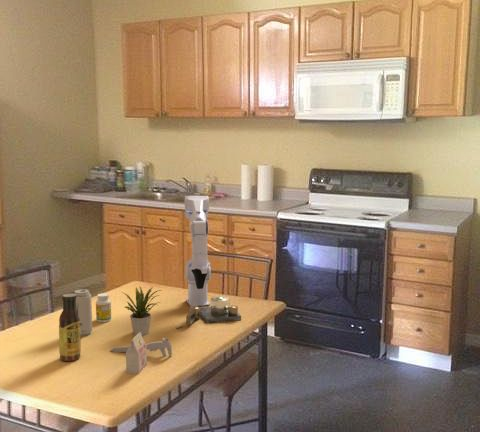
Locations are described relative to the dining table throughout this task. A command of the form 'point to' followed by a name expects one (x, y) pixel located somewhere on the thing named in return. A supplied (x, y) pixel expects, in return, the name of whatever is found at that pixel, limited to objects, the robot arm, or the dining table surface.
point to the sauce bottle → (69, 330)
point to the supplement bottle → (103, 308)
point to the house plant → (141, 312)
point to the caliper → (151, 347)
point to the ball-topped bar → (193, 314)
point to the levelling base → (216, 317)
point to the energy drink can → (84, 311)
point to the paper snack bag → (136, 355)
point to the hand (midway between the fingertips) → (199, 288)
